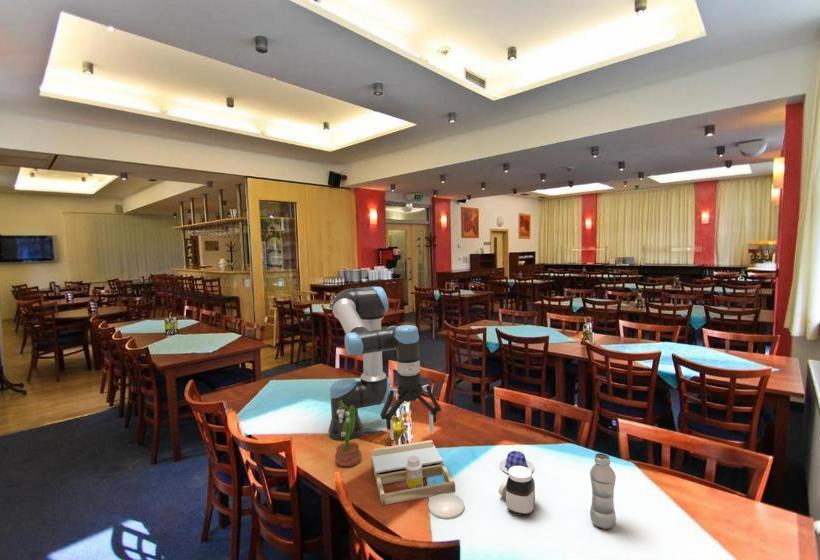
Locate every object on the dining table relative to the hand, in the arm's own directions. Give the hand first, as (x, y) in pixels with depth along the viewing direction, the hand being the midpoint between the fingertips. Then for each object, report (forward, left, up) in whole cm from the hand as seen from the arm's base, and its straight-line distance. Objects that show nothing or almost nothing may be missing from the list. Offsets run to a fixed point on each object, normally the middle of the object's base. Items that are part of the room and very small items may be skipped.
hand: (412, 435), depth 134 cm
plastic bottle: (+33, +47, -19) cm, 60 cm away
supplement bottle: (0, 0, -19) cm, 19 cm away
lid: (-13, 0, -15) cm, 20 cm away
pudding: (-1, +38, -19) cm, 43 cm away
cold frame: (-7, 0, -18) cm, 20 cm away
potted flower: (-23, -21, -19) cm, 36 cm away
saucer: (+13, +7, -18) cm, 23 cm away
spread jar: (+18, +28, -19) cm, 38 cm away
